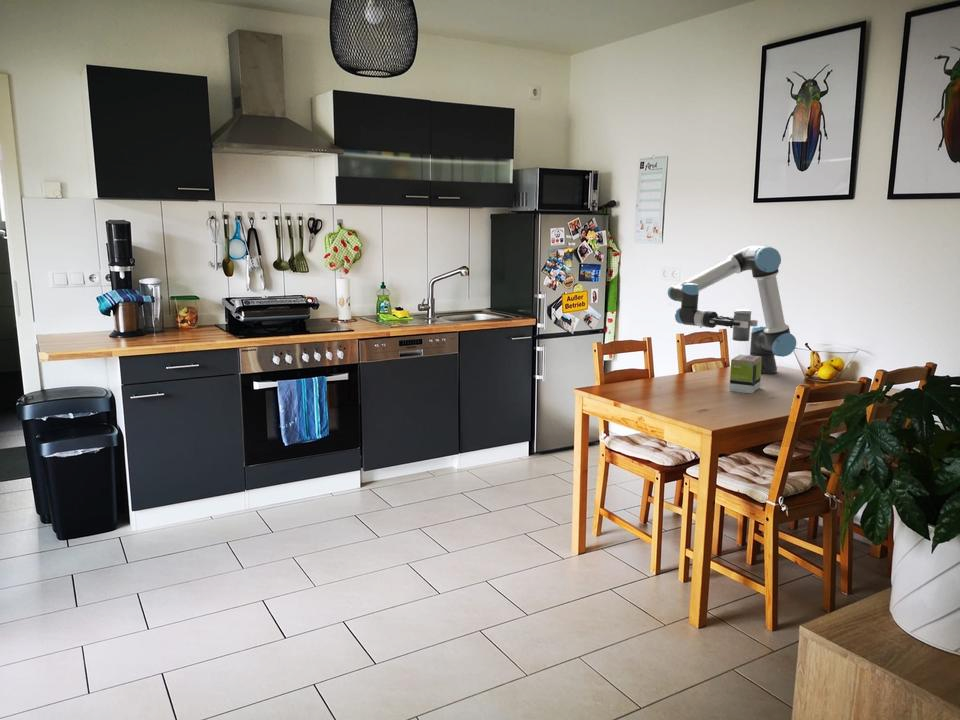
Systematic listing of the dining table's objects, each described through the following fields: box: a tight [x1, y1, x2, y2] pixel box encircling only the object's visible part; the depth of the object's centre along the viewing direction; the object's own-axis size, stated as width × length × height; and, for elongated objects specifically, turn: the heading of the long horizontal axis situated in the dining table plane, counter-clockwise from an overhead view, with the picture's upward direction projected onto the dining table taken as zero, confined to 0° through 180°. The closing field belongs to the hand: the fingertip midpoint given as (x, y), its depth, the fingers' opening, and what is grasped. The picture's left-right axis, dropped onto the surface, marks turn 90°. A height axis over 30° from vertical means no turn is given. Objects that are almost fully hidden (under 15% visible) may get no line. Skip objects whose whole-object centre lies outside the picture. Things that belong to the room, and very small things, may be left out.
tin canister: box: [731, 309, 752, 342], centre depth 318 cm, size 7×7×13 cm
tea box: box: [729, 354, 762, 394], centre depth 321 cm, size 15×10×15 cm, turn 146°
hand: (752, 324), depth 314 cm, fingers closed on tin canister, 7 cm apart
